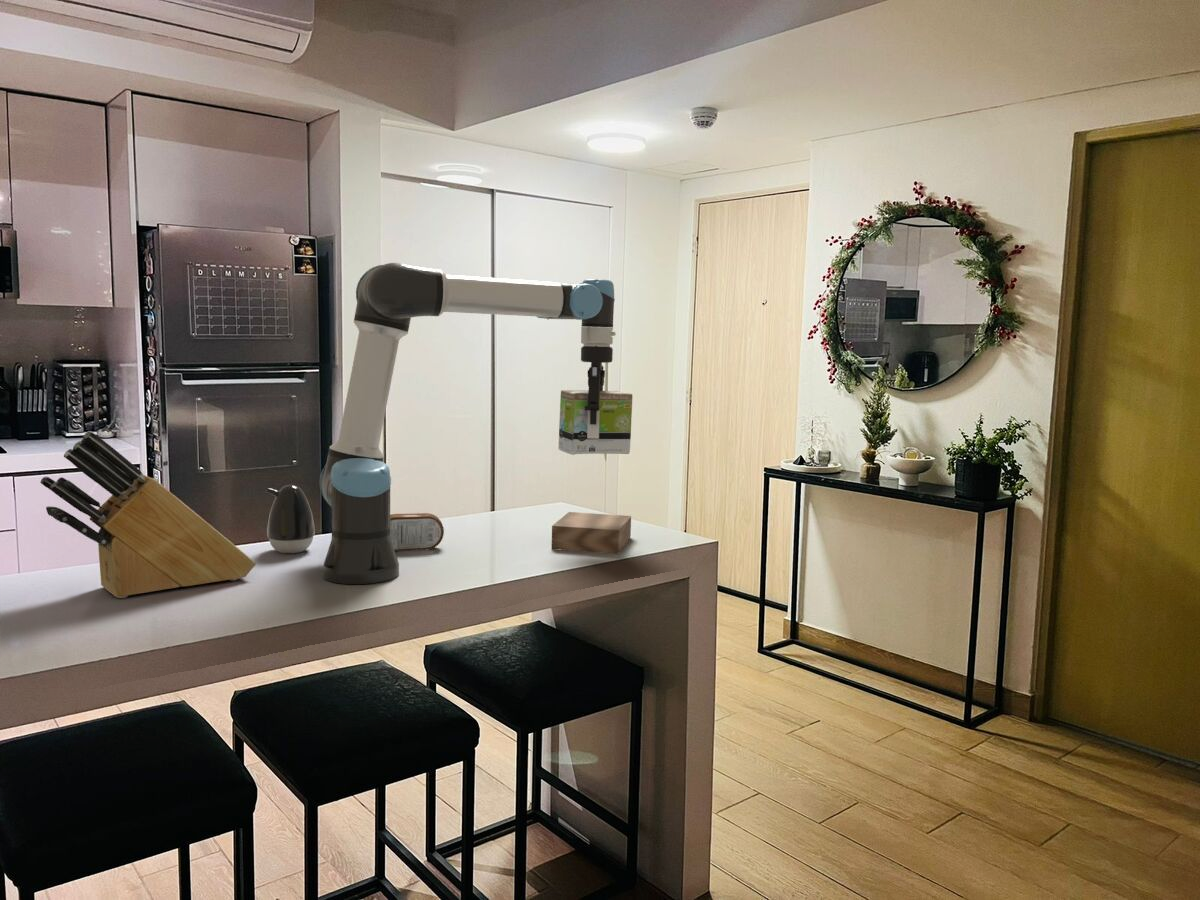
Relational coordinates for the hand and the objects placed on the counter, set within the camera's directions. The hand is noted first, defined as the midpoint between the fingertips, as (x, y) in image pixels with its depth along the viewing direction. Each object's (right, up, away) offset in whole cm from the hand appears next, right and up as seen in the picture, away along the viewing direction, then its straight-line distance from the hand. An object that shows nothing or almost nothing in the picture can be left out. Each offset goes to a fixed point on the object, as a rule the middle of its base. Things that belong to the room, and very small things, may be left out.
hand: (594, 435), depth 223 cm
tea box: (0, -4, 0) cm, 4 cm away
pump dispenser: (-69, -27, -13) cm, 75 cm away
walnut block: (-1, -27, +3) cm, 27 cm away
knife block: (-85, -30, -44) cm, 100 cm away
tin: (-42, -27, -8) cm, 51 cm away
